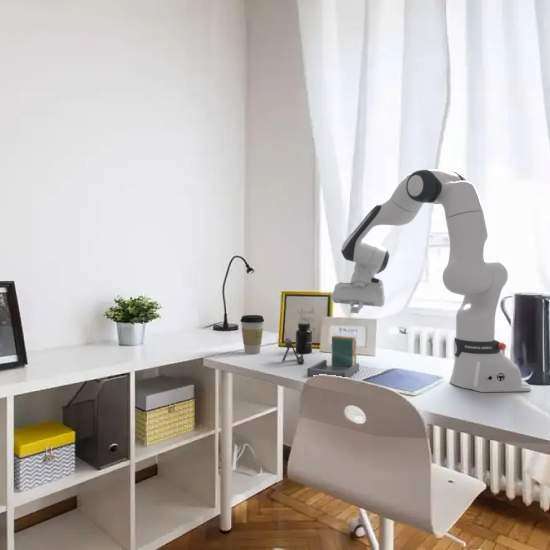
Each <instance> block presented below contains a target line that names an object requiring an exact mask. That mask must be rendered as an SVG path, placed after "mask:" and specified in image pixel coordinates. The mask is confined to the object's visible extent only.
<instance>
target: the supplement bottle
mask: <svg viewBox="0 0 550 550" xmlns="http://www.w3.org/2000/svg"><path fill="white" fill-rule="evenodd" d="M297 324H298V327H297V328H298V329H296V331H295V352H296V354H300V355H301V354H302V355H305V354H306V355H307V354H311V353H312V352H313V331H312V330H311V324H310V323H309V322H298V323H297Z"/></svg>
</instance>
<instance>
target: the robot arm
mask: <svg viewBox="0 0 550 550" xmlns="http://www.w3.org/2000/svg"><path fill="white" fill-rule="evenodd" d="M426 203H427V204H434V205H442V207H443V210H444V215H445V222H446V226H447V232H448V238H449V239H448V241H449V255H448V261H447V264H446V266H445V268H444V270H443V273H442V282H443V285H444V286H445V289H447V290H448V291H449V292H451V293H453V294H457V295H460V296H463V300H462V303H461V305H460V307H459V309H458V310H457V312H456V316H455V317H456V318H455V319H456V320H455V324H456V325H455V337H454V341H453V354H454V360H453V361H454V362H453V367H452V371H451V372H452V373H451V376H450V379H449V383H451V385H453V386H456V387H459V388H463V389H469V390H474V391H476V392H480V393H499V392H500V393H501V392H502V393H503V392H505V393H506V392H507V393H508V392H510V393H511V392H512V393H513V392H529V391H531V389H530V388H531V387H530V386H531V385H530V384H529V383H528V382H526V381H525V380H523V379H522V373H521V370H520V367H518V365H517V364H516V363H514V362H513V360H511V359H510V358H509V357H507V356H506V355H505V354H504V353H502V352H501V351H505V350H506V348H507V344H505V343H504V342H499V340H496V339H495V330H496V329H495V326H496V323H495V322H496V312H497V307H498V304H499V300H500V297H501V293H502V290H503V289H504V286H505V285H506V284H507V282H508V278H509V275H508V269H506V267H505V266H504V264H502V263H501V262H499V261H497V260H494V259H491V258H484V248H485V243H486V241H487V240H488V231H487V229H488V228H487V224H486V220H485V215H484V210H483V204H482V202H481V199H480V196H479V194H478V190H477V189H476V186H475V184H474V183H472V182H470V181H468V180H467V178H466V176H464V175H462V174H461V173H459V172H456V171H446V170H443V169H427V168H426V169H425V168H423V169H419V170H416V171H414V172H412V173H408V174H407V175H406V176H405V177H404V178H403V179H402V180H401V181H400V183H399V184H398V185H397V187H396V189H394V191H393V193H392V195H391V197H390V198H389V199H388V200H386V201H385V202H384V203H382V204H377V205H375V206H374V207H373V208H372V209H371V210H370V211H369V212H368V213H367V215H366V216H365V217H364V218H363V219H362V220H361V222H360V223H359V225H358V226H357V227H356V228H355V229H354V230H353V232H352V233H350V235H349V236H347V238H346V239H345V240H344V241H343V243H342V246H341V255H342V256H343V258H344V259H345V260H346V261H349V262H352V263H355V265H354V269H353V270H354V271H353V273H352V274H351V279H350V281H349V282H339V283H336V284H335V285H334V289H333V291H332V294H331V300H332V302H333V303H334V304H343V305H344V304H345V305H349V306H350V313H351V314H359V313H360V310H362V309H363V308H364V306H368V307H369V306H370V307H378V308H380V307H384V306H385V302H386V301H385V300H386V296H385V286H384V282H383V280H382V279H380V278H377V277H375V275H377V274H380V273H382V272H383V271H385V269H386V268H387V266H388V263H389V260H390V259H389V258H390V253H389V251H388V249H387V248H386V247H385V246H382V245H379V244H377V243H375V242H372V241H369V240H367V239H364V238H365V237H366V236H367V235H368V233H369V232H370V231H372V229H373V228H374V227H376V226H383V225H384V226H395V227H399V226H405V225H408V224H409V223H411V222H412V221H413V220H414V219H415V217H416V216H417V215H418V213H419V211H420V210H421V208H422V207H423V205H424V204H426ZM356 305H357V306H356Z"/></svg>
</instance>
